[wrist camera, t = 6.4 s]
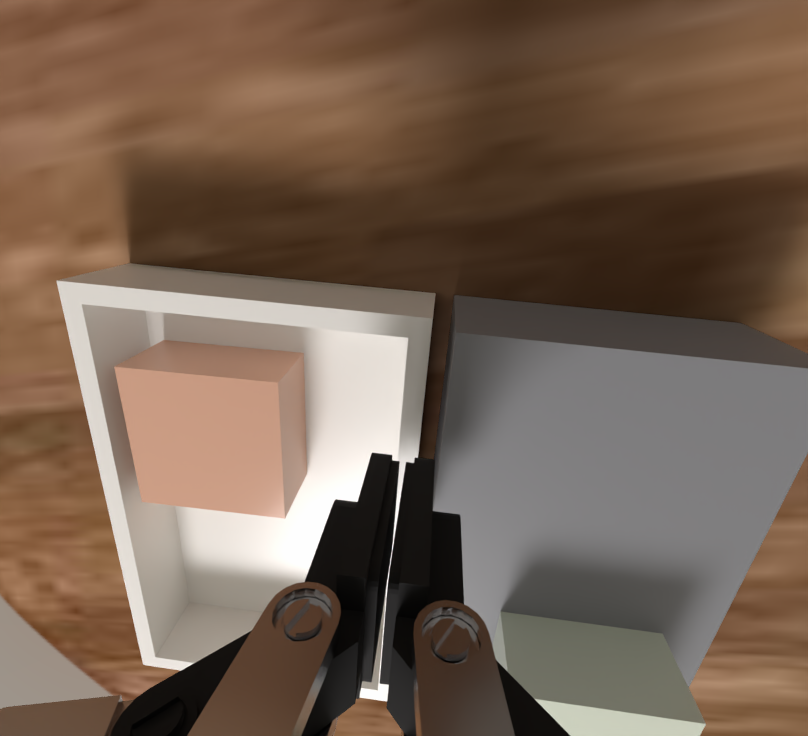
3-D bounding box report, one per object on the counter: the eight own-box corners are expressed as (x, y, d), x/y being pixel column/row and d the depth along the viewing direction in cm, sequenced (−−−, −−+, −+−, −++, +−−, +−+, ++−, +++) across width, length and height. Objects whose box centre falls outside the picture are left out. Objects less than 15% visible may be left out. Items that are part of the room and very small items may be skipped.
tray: (129, 263, 15) (56, 280, 12) (435, 293, 14) (432, 318, 12) (183, 602, 21) (143, 664, 18) (399, 632, 20) (391, 702, 18)
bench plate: (454, 295, 14) (456, 332, 11) (741, 323, 14) (848, 372, 10) (412, 634, 20) (404, 732, 17) (610, 662, 20) (646, 769, 16)
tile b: (500, 611, 14) (510, 695, 12) (662, 633, 14) (706, 724, 11) (477, 709, 16) (483, 798, 14) (619, 731, 16) (649, 825, 13)
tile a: (278, 382, 13) (303, 352, 15) (113, 366, 13) (163, 339, 15) (285, 518, 15) (307, 473, 17) (142, 501, 15) (182, 460, 17)
